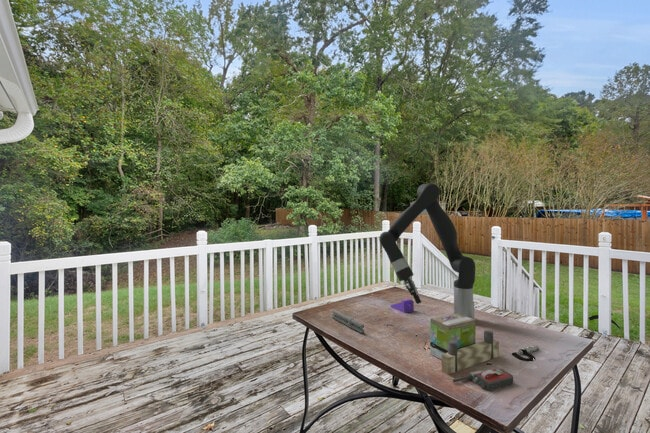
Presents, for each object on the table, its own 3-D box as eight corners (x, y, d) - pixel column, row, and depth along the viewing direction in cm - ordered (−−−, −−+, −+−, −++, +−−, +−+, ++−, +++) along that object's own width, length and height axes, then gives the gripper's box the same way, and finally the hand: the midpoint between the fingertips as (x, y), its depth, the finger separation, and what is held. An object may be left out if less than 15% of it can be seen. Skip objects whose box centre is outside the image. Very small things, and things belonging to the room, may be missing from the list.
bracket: (413, 311, 184) (413, 299, 183) (404, 313, 181) (404, 301, 180) (399, 305, 194) (399, 294, 194) (390, 307, 191) (390, 296, 191)
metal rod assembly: (331, 319, 173) (331, 309, 173) (336, 318, 175) (336, 308, 175) (360, 335, 151) (360, 324, 151) (365, 333, 153) (365, 323, 152)
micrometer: (526, 364, 122) (526, 357, 121) (509, 356, 128) (509, 349, 128) (552, 356, 127) (552, 350, 127) (535, 349, 134) (535, 343, 134)
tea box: (449, 364, 121) (449, 325, 121) (429, 354, 130) (429, 317, 130) (476, 355, 128) (476, 318, 128) (455, 346, 137) (455, 311, 137)
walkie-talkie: (495, 372, 116) (450, 383, 109) (495, 360, 116) (450, 370, 109) (517, 384, 108) (470, 397, 101) (517, 371, 108) (470, 383, 101)
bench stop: (491, 353, 130) (491, 328, 130) (499, 356, 127) (499, 331, 127) (441, 370, 117) (441, 343, 117) (448, 374, 114) (448, 346, 114)
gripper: (406, 265, 150) (425, 300, 144) (411, 266, 162) (428, 299, 156) (392, 272, 152) (409, 307, 146) (398, 273, 164) (414, 305, 158)
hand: (419, 303), depth 151 cm, fingers closed
